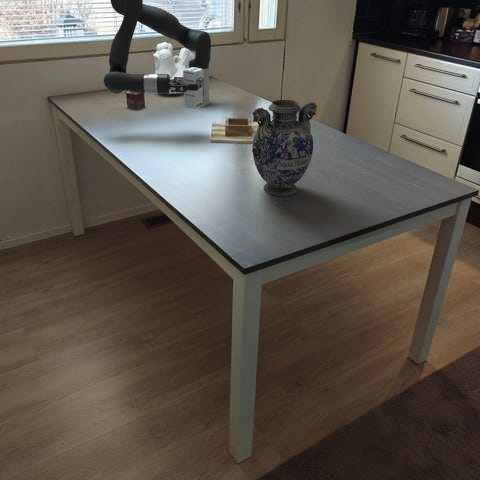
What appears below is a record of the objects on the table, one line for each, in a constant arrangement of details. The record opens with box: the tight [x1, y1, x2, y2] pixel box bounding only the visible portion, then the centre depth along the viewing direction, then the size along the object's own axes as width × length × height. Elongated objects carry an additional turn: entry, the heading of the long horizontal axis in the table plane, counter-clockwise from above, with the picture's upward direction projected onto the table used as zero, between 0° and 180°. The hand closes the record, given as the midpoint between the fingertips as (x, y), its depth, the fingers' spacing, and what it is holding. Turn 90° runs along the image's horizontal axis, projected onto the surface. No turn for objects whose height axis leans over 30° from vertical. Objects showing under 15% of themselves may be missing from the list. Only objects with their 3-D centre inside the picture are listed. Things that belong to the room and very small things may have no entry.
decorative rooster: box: [152, 41, 195, 95], centre depth 264 cm, size 25×16×25 cm, turn 116°
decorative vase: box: [251, 99, 318, 197], centre depth 163 cm, size 21×19×28 cm
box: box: [125, 91, 146, 111], centre depth 244 cm, size 6×6×7 cm
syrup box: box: [183, 67, 204, 110], centre depth 207 cm, size 6×6×14 cm
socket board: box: [209, 117, 259, 144], centre depth 215 cm, size 22×22×5 cm
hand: (198, 84), depth 206 cm, fingers closed on syrup box, 7 cm apart
